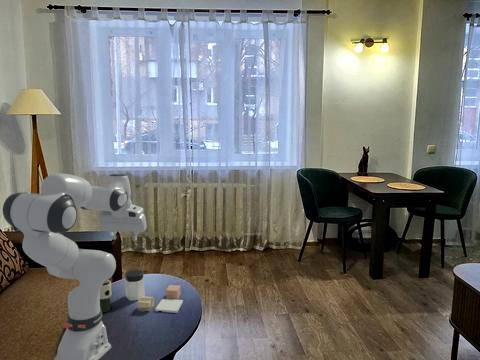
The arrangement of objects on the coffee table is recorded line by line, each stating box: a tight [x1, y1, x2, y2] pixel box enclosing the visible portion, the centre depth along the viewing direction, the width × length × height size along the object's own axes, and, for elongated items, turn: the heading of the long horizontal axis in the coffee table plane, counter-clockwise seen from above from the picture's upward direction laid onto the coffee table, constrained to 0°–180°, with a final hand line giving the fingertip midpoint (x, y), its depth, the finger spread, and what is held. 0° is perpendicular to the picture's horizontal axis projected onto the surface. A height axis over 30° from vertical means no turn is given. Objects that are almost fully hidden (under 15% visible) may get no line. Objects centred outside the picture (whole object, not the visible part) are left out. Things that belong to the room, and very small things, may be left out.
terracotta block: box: [165, 284, 182, 300], centre depth 196 cm, size 6×6×4 cm
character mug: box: [100, 279, 113, 313], centre depth 182 cm, size 11×7×13 cm, turn 170°
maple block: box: [137, 295, 155, 312], centre depth 185 cm, size 6×6×4 cm
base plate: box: [154, 298, 184, 314], centre depth 187 cm, size 10×10×1 cm
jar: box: [124, 269, 146, 301], centre depth 195 cm, size 9×8×12 cm
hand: (124, 239), depth 178 cm, fingers open, 8 cm apart
